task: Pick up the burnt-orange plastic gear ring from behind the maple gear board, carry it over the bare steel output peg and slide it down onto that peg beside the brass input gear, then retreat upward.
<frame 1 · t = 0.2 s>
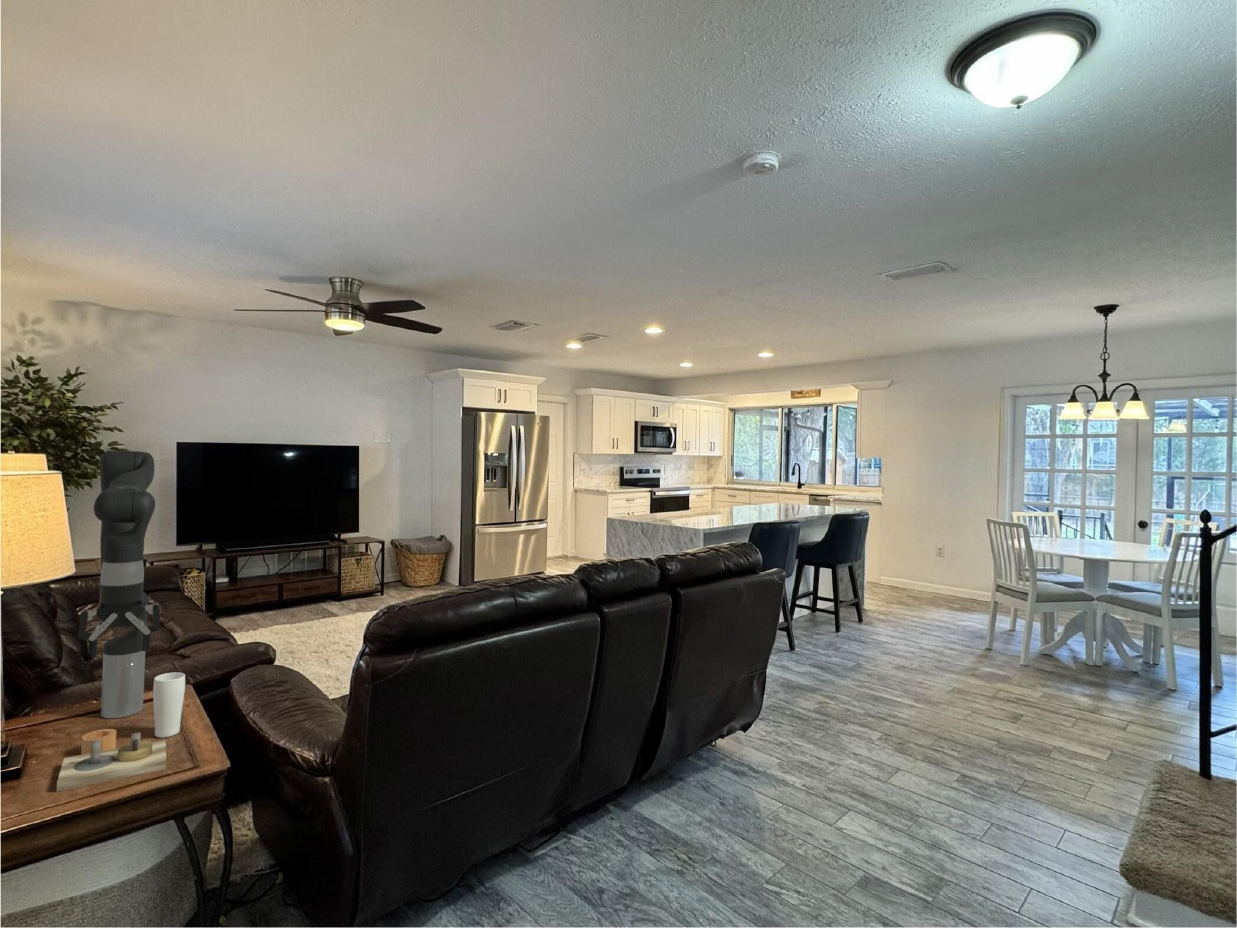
hand: (119, 653, 139), 28 cm above the table, fingers open, 8 cm apart
gear: (98, 750, 153), on the table
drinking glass: (167, 734, 163), on the table
gear board: (115, 767, 145), on the table
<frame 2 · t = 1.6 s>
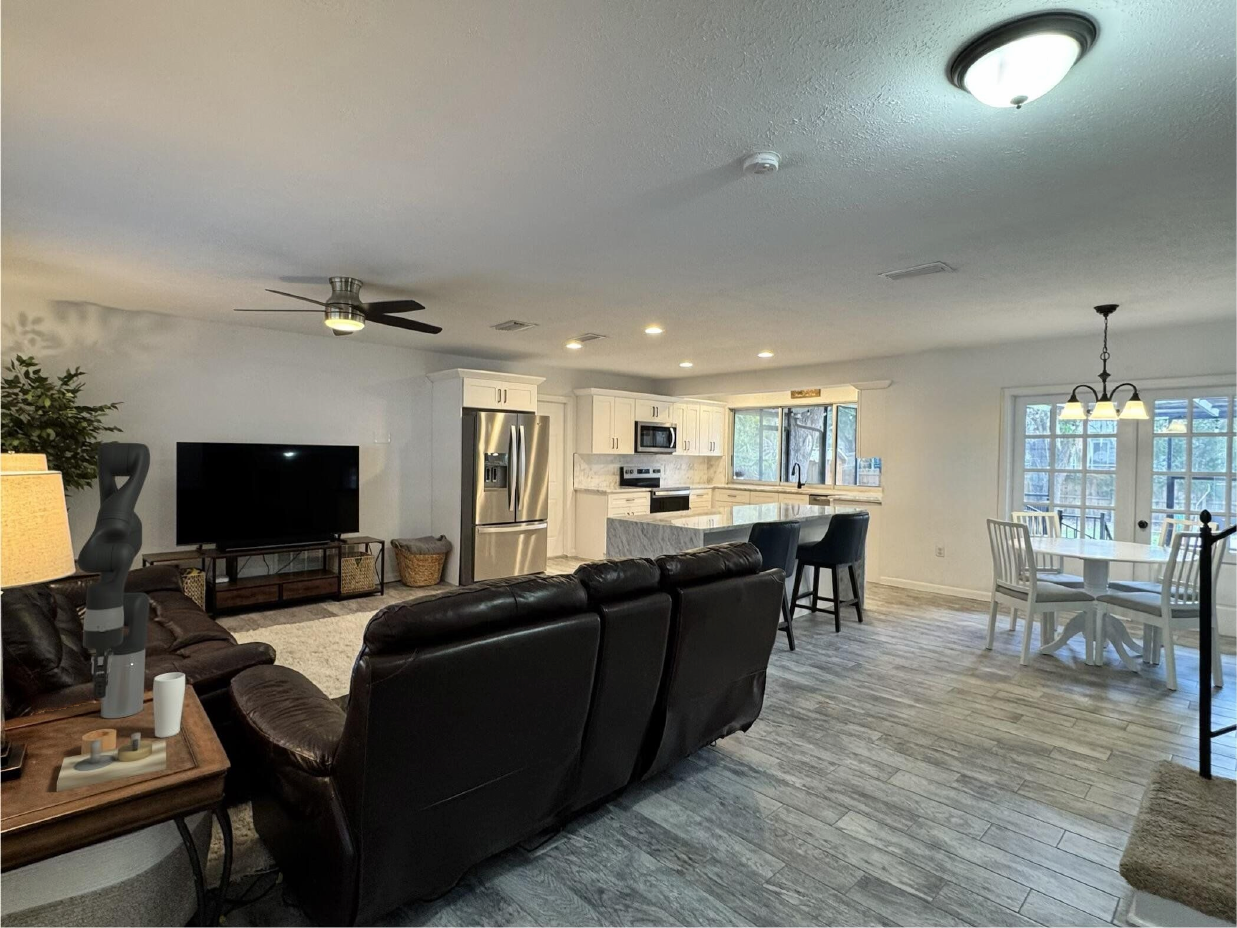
hand: (100, 692, 153), 14 cm above the table, fingers open, 8 cm apart
nothing on the table moved.
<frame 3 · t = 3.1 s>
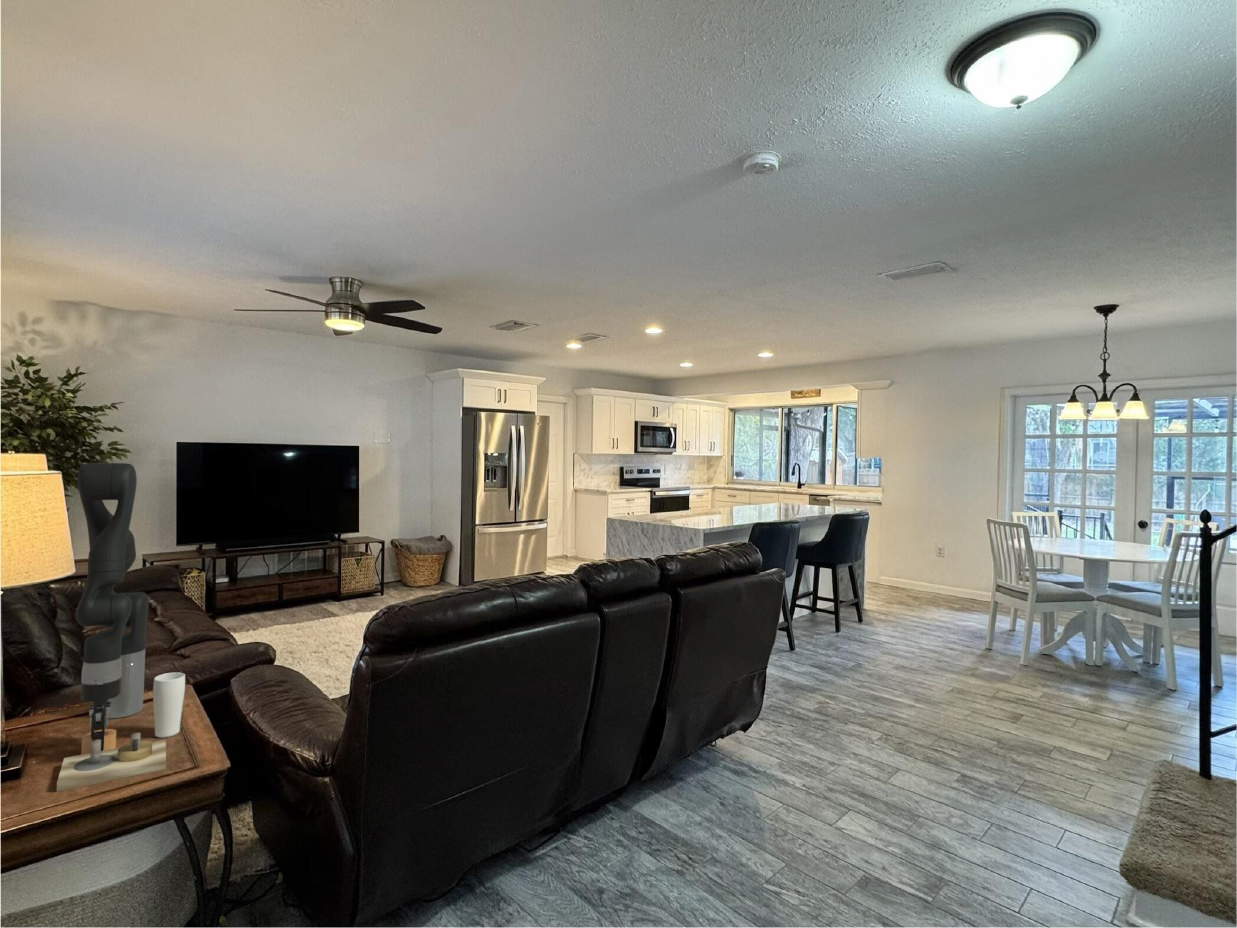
hand: (98, 745, 153), 1 cm above the table, fingers closed on gear, 6 cm apart
gear: (98, 750, 153), on the table, touching gripper
everything else where it was.
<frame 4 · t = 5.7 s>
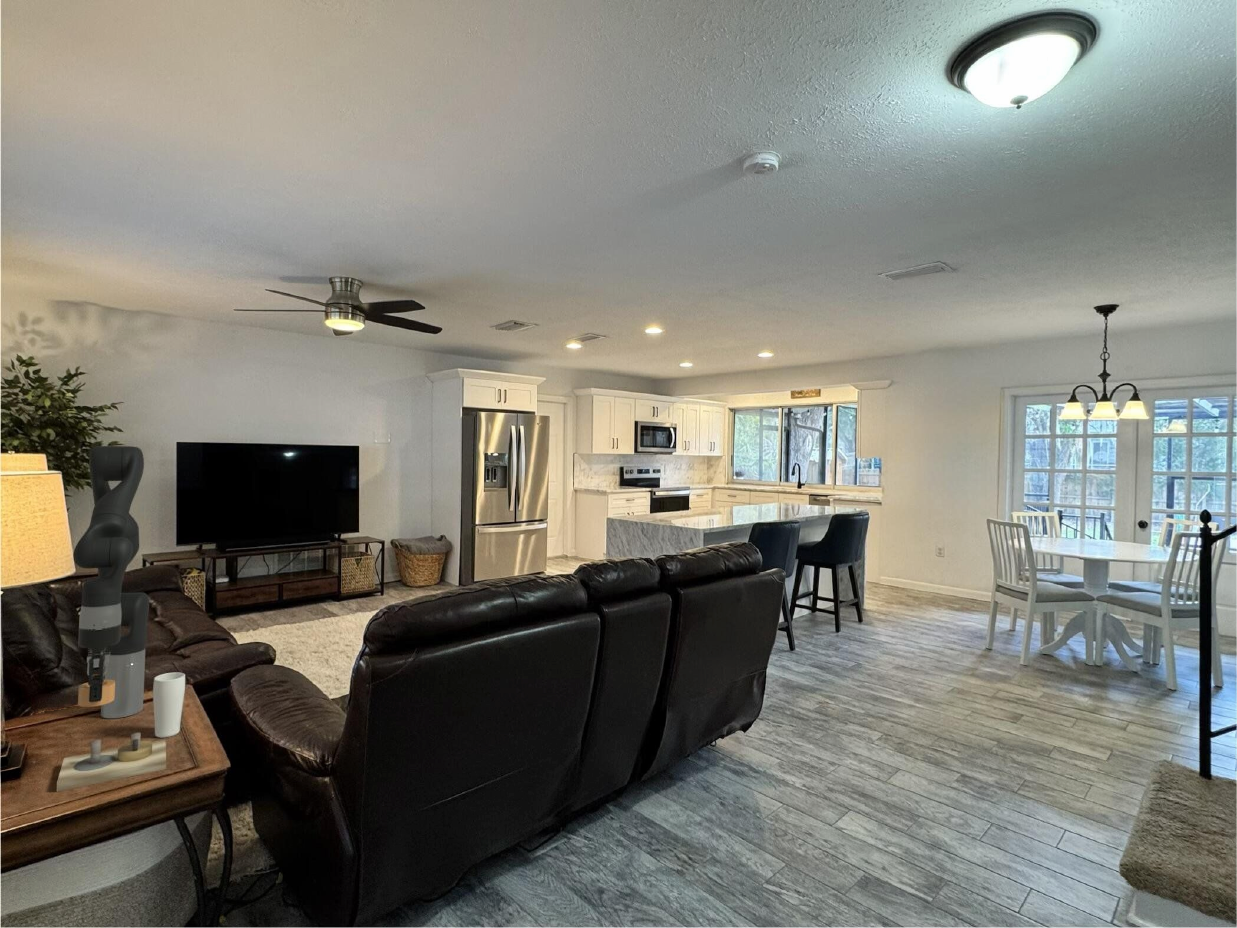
hand: (96, 696, 145), 17 cm above the table, fingers closed on gear, 6 cm apart
gear: (96, 701, 145), point 15 cm above the table, touching gripper
everything else where it was.
when the fingers open (5 cm above the table, at t = 8.3 s): gear drops 1 cm, resting on gear board.
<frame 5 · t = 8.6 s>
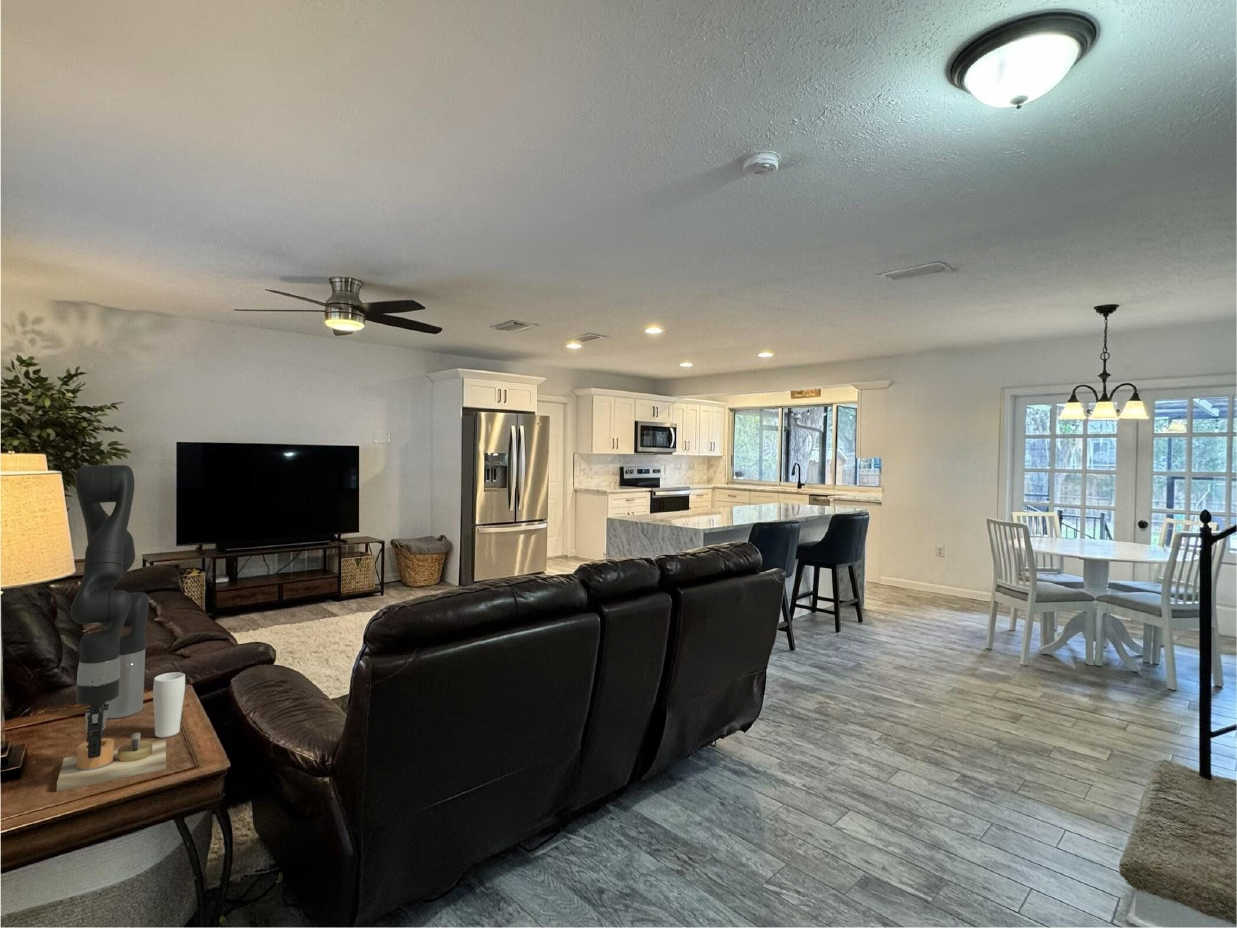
hand: (95, 749, 143), 5 cm above the table, fingers open, 8 cm apart
gear: (95, 762, 143), point 2 cm above the table, touching gear board
everything else where it was.
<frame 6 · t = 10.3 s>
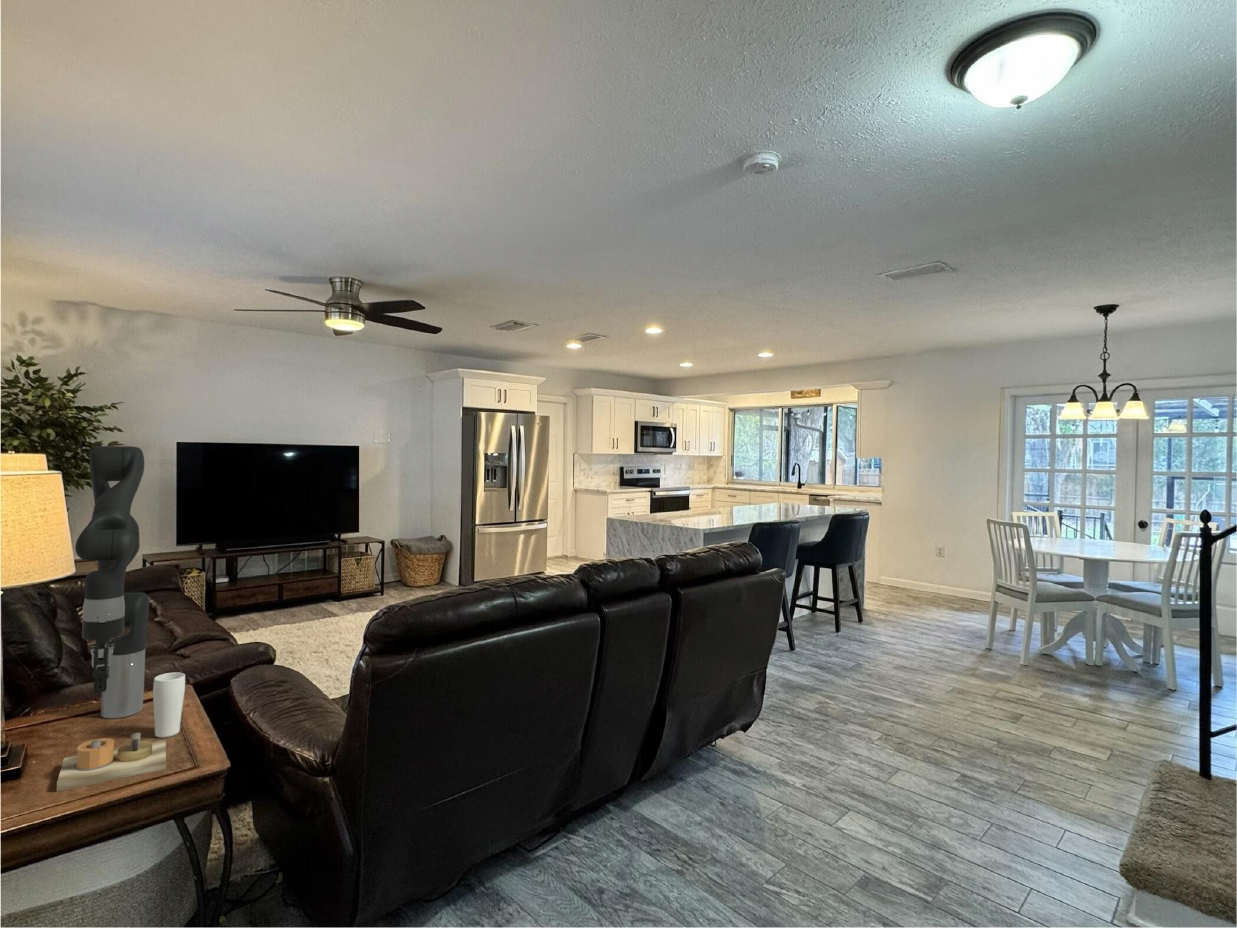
hand: (101, 685, 145), 19 cm above the table, fingers open, 8 cm apart
nothing on the table moved.
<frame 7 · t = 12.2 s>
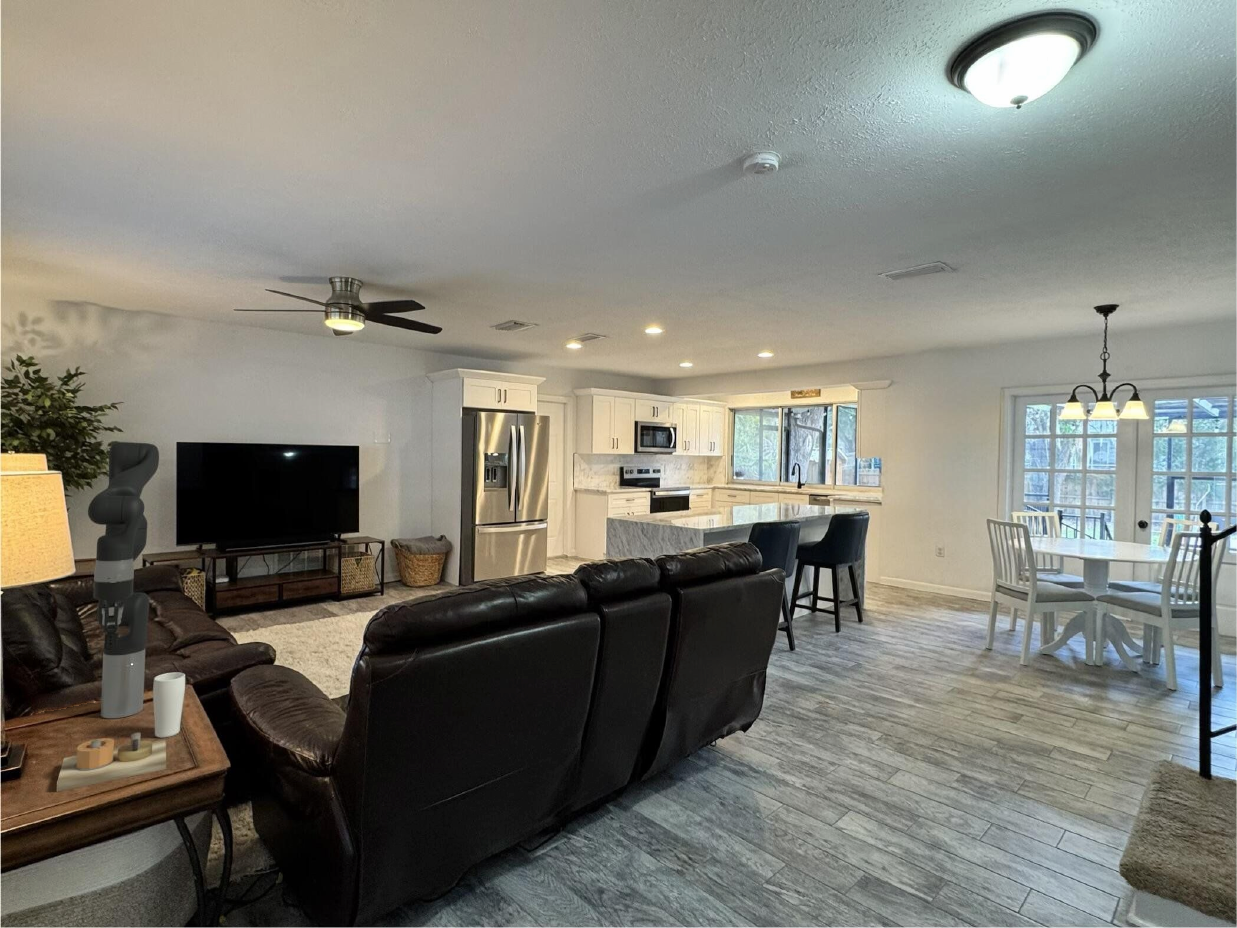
hand: (111, 644, 153), 26 cm above the table, fingers open, 8 cm apart
nothing on the table moved.
at the end: gear 0.1 cm from the target spot on the gear board, point 2.2 cm above the gear board's base; gear tilted 0°; the gripper is holding nothing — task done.
